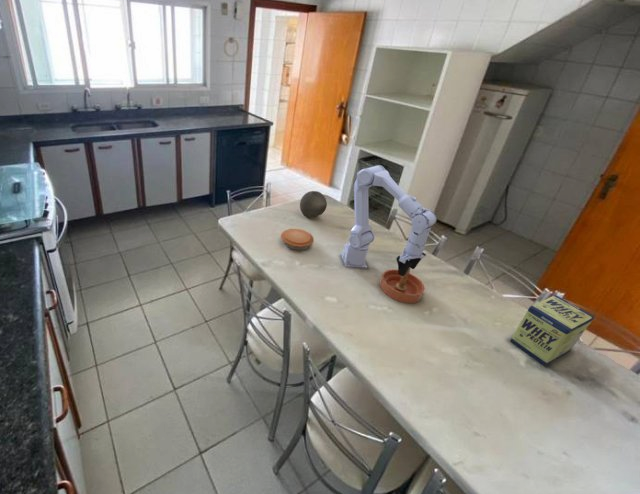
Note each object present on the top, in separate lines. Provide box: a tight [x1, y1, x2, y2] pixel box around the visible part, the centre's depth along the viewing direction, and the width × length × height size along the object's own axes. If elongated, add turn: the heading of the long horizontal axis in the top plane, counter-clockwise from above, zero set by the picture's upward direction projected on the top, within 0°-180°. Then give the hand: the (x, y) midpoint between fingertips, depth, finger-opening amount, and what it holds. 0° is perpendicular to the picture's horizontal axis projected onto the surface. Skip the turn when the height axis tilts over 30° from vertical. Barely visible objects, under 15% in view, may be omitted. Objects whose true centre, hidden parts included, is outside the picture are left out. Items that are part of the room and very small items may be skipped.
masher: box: [395, 268, 411, 293], centre depth 127 cm, size 4×4×10 cm
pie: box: [280, 228, 314, 251], centre depth 155 cm, size 15×16×5 cm
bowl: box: [379, 269, 426, 304], centre depth 129 cm, size 15×15×4 cm
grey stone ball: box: [299, 190, 328, 219], centre depth 178 cm, size 14×14×15 cm
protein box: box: [509, 294, 596, 367], centre depth 105 cm, size 10×16×16 cm
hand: (406, 271), depth 126 cm, fingers open, 7 cm apart
